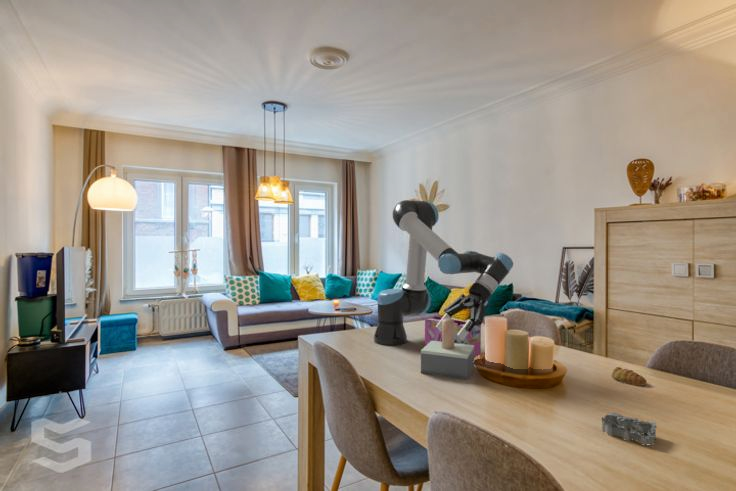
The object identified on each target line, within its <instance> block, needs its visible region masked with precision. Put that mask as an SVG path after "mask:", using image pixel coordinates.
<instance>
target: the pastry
mask: <svg viewBox="0 0 736 491" xmlns="http://www.w3.org/2000/svg"><path fill="white" fill-rule="evenodd" d="M611 377H612V378H613V379H614V380H615V381H618V382H620V383H623V384H624V383H625V384H628V385H632V386H639V387H642V386H643V387H644V386H645V385H646V384H647V382H648V381H647V379H646V378H645V377H643V376H642V375H640V374H639V373H637V372H635V371H633V370H632V369H628V368H623V367H620V366H616V367H615V368H613V370H612V373H611Z"/></svg>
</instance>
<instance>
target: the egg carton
mask: <svg viewBox="0 0 736 491" xmlns="http://www.w3.org/2000/svg"><path fill="white" fill-rule="evenodd" d="M601 423H602V425H601V426H602V432H603V433H605V432H606V433H607V434H608V436H609V435H611V436H610V437H613V436H612V435H618V436H617V437H620V436H621V437H620V438H622V437H623V438H622V439H626V440H625V441H628V440H630V441H633V440H637V441H639V442H640V443H641V444H644V445H647V444H650V445H649V446H651V445H653V444H654V445H655V443H654V442H655V440H656V439H655V438H656V433H657V431H656V429H657V422H649V421H644V420H639V419H638V418H632V417H629V416H624V415H622V414H620V413H617V412H609V413H607V414H606V415H605V416H603V417H601ZM626 429H627V430H626ZM630 429H631V430H630ZM629 430H630V431H629ZM606 433H605V434H606ZM643 433H648V434H646V436H644V434H643ZM607 434H606V435H607ZM632 439H633V440H632ZM654 439H655V440H654ZM637 441H636V442H637ZM639 442H638V443H639ZM640 443H639V444H640ZM641 444H640V445H641ZM644 445H643V446H644Z"/></svg>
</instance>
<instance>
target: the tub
mask: <svg viewBox="0 0 736 491" xmlns="http://www.w3.org/2000/svg"><path fill="white" fill-rule="evenodd" d="M473 361H474V349H473V351H472V352H471V354H470V355H469V357H468V359H465V358H456V357H448V356H440V355H432V354H424V353H421V352H420V374H426V375H432V376H439V377H447V378H452V379H460V380H468V379H469V377H470V375H471V373H472V372H473V370H474V368H475V361H474V362H473Z"/></svg>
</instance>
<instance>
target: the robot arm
mask: <svg viewBox="0 0 736 491" xmlns="http://www.w3.org/2000/svg"><path fill="white" fill-rule="evenodd" d="M392 220H393V222H394V223H395V225H396V227H398V228H399V229H400V230H401V231H403V232H406V233H408V235H409V239H408V240H409V241H408V250H407V251H408V253H407V261H406V262H407V263H406V265H407V266H406V276H405V282H404V283H403V285H402V286H401V288H388V289H384V290H381V291H379V292H378V294H377V301H376V302H377V326H376V329H375V332H374V336H373V340H374V343H375V344H378V345H382V346H383V345H385V346H386V345H387V346H398V345H399V346H400V345H403V344H406V343H407V342H408V335H407V333H406V329H405V325H404V317H409V316H419V315H421V314H424V313H426V312H427V311H428V310H429V308H430V306H431V301H432V300H431V299H432V298H431V296H430V293H429V292H428V290H427V289H428V288H427V287H426V285H425V275H426V274H425V273H426V266H427V265H426V264H427V263H426V262H427V253H429V254H430V255H431V256H432V257H433V258H434V259H435V260H436V261H437V266H438V268H439V271H440V272H442V273H443V274H444V275H456V274H466V273H467V274H468V273H476V274H477V273H478V274H480V275H479V276H478V277H477V278H476V280H475V281H474V283H472V284H471V286H470V288H469V289H468V294H467V296H466V295H465V293H462V294H461V295H460V296H459V297H458V298H457V299H455V300H454V301H453V302H451V303H450V304H449V305H448V306H446V307H444V309H443V312H444V314H443V316H442V318H441V320H440V321H439V323H438V324H437V325H436V327H437V329H438V330H439V331H442V319H452V316H454V315H456V314H458V313H460V312H462V311H463V310H467V309H468V310H470V318H469V319H468V320H467V321H465V322H466V324H465V325H464V326H463V328H462V329H461V330H460V331H459V333H458V334H457V335H458V336H459V337H460V338H461V339H462V340H464V338H465V337H466V336H467V334H468V333H469V332H470V331H471V330H472V329H473V327H474V326H475V325H477V324H479V325H481V326H482V324H483V321H484V318H485V316H486V311H487V308H488V306H489V305H490V303H489V302H488V300H489V299H490V298H491V296H492V294H494V293H495V291H496V290H497V289H498V287H499V285H500V284H501V283H502V282H503V280H504V279H505V278H506V277H507V275H508V274H510V272H511V269H513V267H514V262H513V259H512V258H511V257H510V256H509V255H508V254H506V253H502V252H498V253H496V254H495V255H494V257H493V256H490V255H486V254H483V253H479V252H477V251H472V250H467V251H465V252H464V253H459V252H457V251H456V250H455V249H454V248H452V247H451V246H450V245H449V244H448V243H447V242H446V241H444V239H443V238H441V237H440V236H439V235H438V234H436V233H435V232H434V231H433V227H434V226H436V225H437V223H438V221H439V210H438V208H437V207H436V205H435V204H434V203H432V202H431V201H430V202H429V201H426V200H411V199H405V200H401V201H399V202H398V203H396V205H395V206H394V207H393V210H392Z"/></svg>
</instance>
